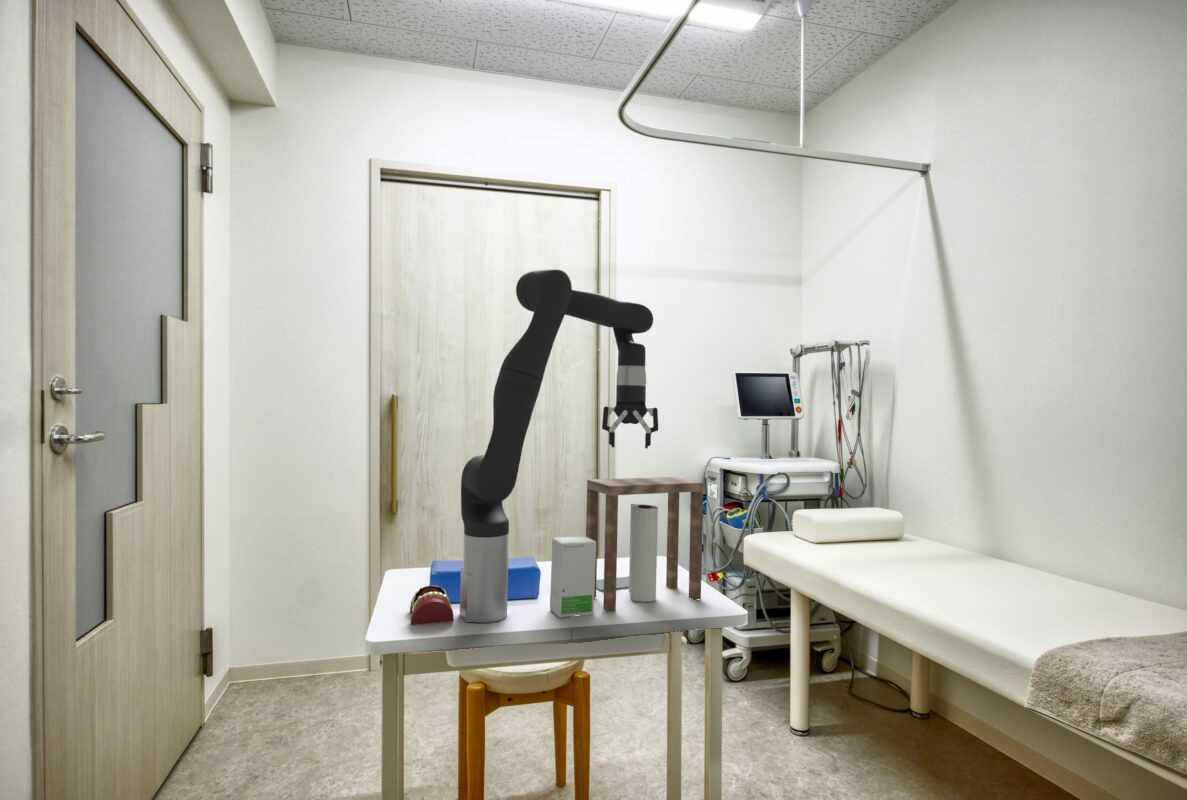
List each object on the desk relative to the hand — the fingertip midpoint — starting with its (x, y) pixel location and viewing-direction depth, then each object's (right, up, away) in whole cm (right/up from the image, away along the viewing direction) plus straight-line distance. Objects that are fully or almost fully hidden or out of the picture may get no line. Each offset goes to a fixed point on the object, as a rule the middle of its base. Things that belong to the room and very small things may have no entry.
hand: (629, 447), depth 162 cm
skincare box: (-14, -33, -26) cm, 45 cm away
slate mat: (-3, -34, -4) cm, 34 cm away
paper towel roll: (+2, -34, -15) cm, 37 cm away
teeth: (-43, -33, -31) cm, 62 cm away
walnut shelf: (+2, -34, -15) cm, 37 cm away
